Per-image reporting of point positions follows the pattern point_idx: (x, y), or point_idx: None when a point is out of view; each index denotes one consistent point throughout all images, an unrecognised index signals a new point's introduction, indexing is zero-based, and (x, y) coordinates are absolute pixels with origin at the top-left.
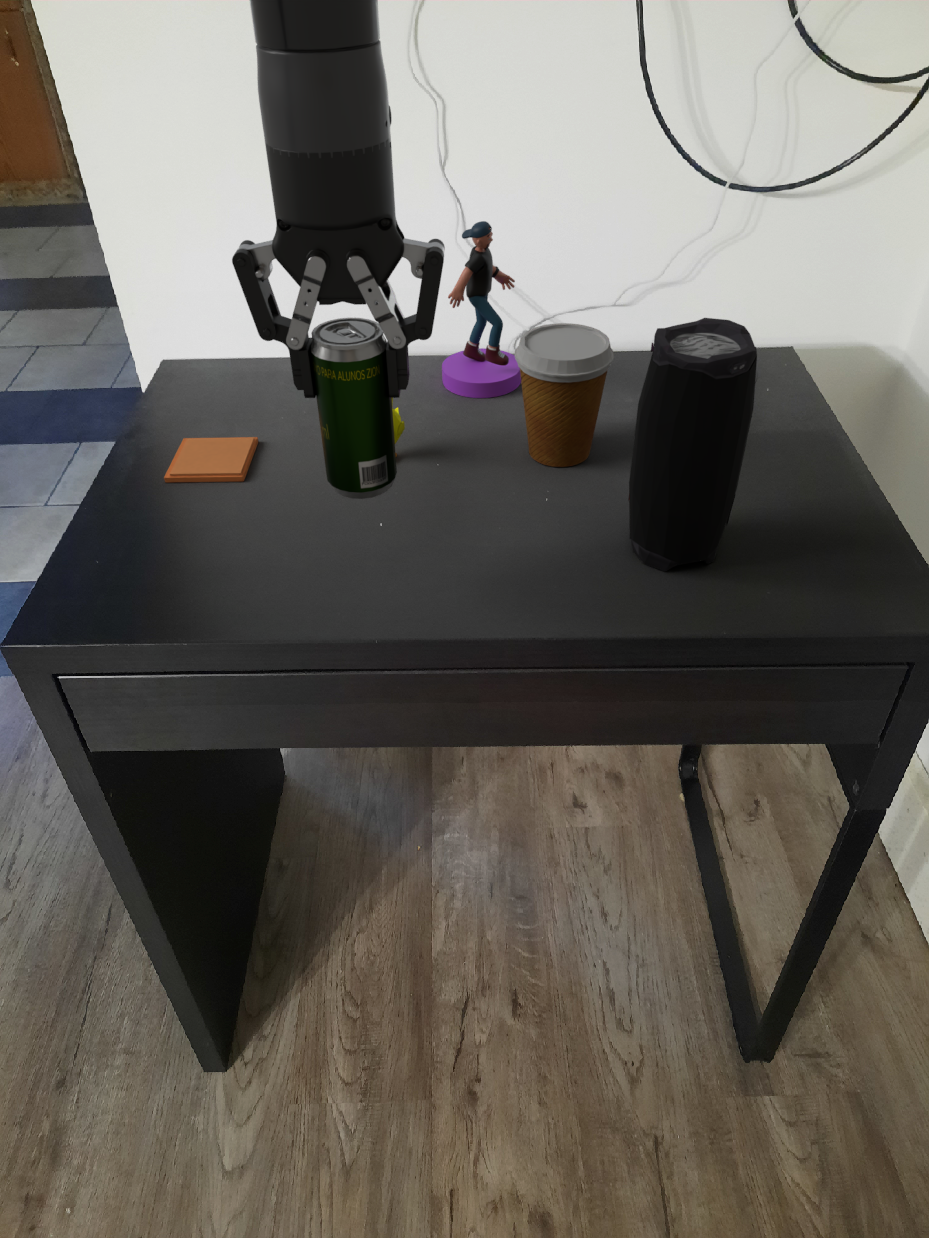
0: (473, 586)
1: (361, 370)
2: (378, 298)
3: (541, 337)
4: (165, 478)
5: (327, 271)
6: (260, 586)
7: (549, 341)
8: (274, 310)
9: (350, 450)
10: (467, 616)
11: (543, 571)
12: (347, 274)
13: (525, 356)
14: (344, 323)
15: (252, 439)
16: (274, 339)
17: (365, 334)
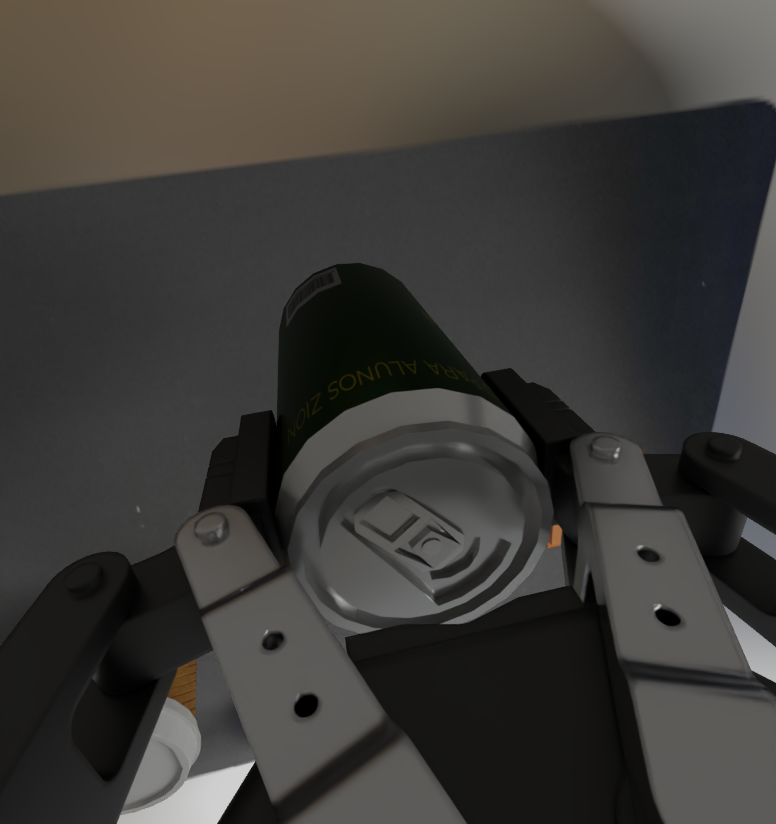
0: (183, 303)
1: (338, 395)
2: (258, 669)
3: (158, 775)
4: (643, 453)
5: (610, 779)
6: (490, 261)
7: (139, 769)
8: (715, 568)
9: (362, 290)
10: (169, 229)
11: (85, 354)
12: (473, 790)
13: (167, 728)
14: (449, 598)
15: (552, 540)
16: (673, 456)
17: (351, 540)
